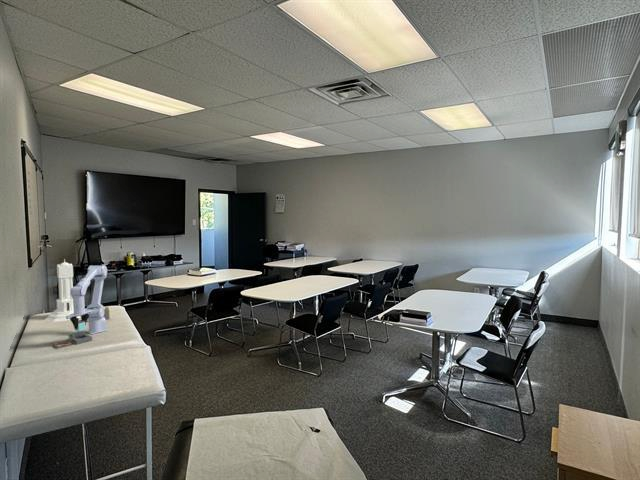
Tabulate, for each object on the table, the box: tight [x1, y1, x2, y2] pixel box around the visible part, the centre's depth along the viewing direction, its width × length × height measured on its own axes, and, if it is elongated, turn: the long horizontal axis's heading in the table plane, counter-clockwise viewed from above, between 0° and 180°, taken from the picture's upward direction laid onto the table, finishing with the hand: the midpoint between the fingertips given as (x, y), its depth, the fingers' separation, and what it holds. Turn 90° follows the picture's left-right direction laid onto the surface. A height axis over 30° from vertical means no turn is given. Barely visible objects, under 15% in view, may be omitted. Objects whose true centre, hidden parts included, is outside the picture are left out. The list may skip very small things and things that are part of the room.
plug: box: [74, 319, 86, 332], centre depth 220 cm, size 4×4×6 cm
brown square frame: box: [52, 340, 73, 350], centre depth 213 cm, size 7×7×1 cm
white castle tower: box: [44, 258, 81, 323], centre depth 273 cm, size 28×28×45 cm
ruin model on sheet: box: [103, 306, 111, 321], centre depth 264 cm, size 11×3×10 cm, turn 125°
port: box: [67, 330, 93, 345], centre depth 222 cm, size 8×13×4 cm, turn 53°
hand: (80, 327), depth 220 cm, fingers closed on plug, 4 cm apart
